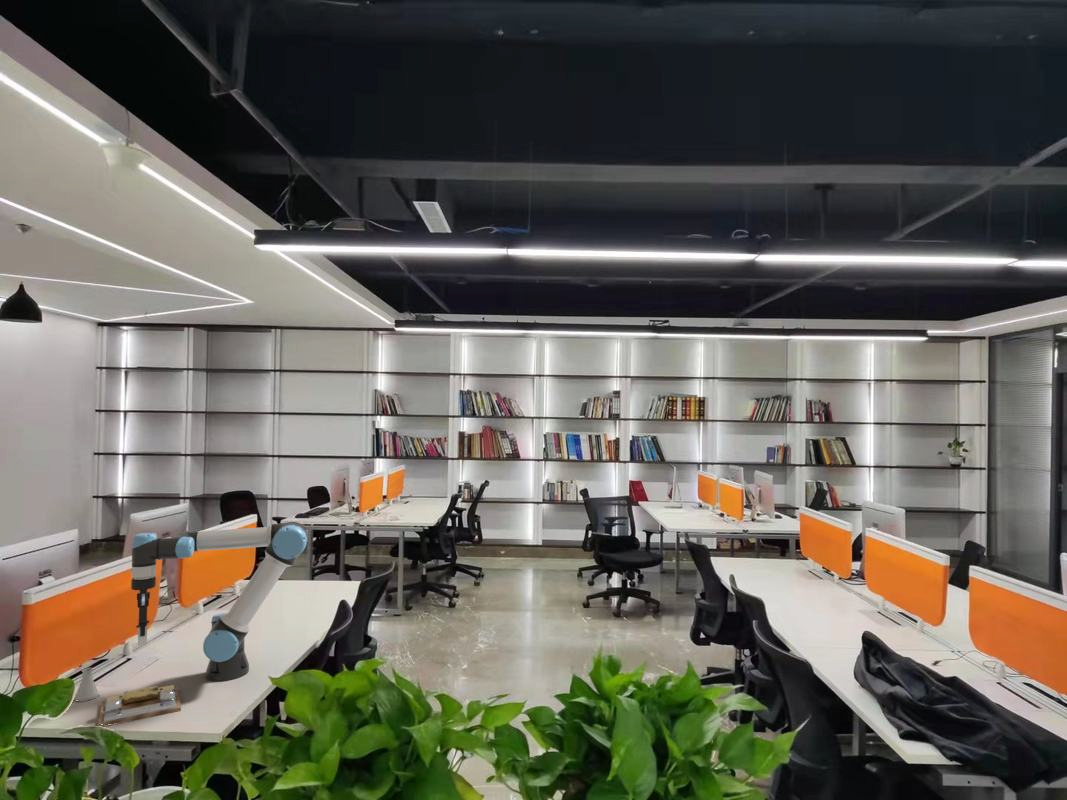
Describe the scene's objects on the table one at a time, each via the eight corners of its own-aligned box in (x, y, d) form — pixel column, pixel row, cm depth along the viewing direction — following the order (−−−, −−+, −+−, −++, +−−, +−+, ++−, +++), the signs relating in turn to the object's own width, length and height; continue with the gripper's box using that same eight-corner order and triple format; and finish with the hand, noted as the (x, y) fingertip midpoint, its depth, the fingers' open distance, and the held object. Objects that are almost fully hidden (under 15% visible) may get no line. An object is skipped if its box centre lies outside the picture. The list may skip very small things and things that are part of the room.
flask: (83, 703, 220) (83, 674, 221) (69, 700, 223) (70, 671, 224) (103, 695, 227) (104, 667, 228) (90, 692, 230) (90, 664, 230)
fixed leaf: (176, 698, 221) (176, 686, 221) (177, 707, 214) (177, 695, 214) (103, 712, 210) (104, 700, 210) (102, 722, 203) (102, 709, 203)
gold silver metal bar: (173, 688, 230) (174, 677, 230) (174, 696, 223) (174, 684, 223) (107, 700, 219) (107, 689, 220) (105, 709, 212) (106, 697, 212)
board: (178, 690, 231) (178, 687, 231) (180, 710, 214) (180, 707, 214) (102, 705, 219) (102, 701, 219) (98, 728, 202) (98, 724, 202)
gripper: (131, 574, 232) (130, 640, 231) (130, 582, 220) (129, 651, 219) (155, 572, 236) (154, 636, 235) (156, 579, 224) (154, 647, 222)
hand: (142, 643), depth 227 cm, fingers open, 2 cm apart
